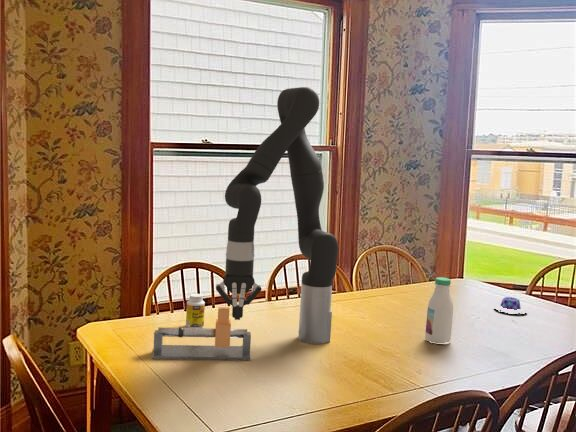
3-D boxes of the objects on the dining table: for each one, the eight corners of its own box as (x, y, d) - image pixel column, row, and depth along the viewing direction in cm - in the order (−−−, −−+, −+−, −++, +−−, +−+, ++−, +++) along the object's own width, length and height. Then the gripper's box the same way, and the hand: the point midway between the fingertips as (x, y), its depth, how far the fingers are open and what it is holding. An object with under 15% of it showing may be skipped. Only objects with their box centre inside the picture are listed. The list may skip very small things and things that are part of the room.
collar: (229, 340, 172) (231, 305, 171) (229, 347, 167) (231, 311, 165) (215, 339, 172) (216, 305, 171) (214, 347, 166) (216, 311, 165)
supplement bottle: (190, 330, 189) (191, 298, 187) (182, 325, 193) (184, 293, 192) (206, 328, 192) (208, 296, 190) (199, 323, 196) (200, 292, 195)
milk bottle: (452, 340, 193) (458, 278, 190) (447, 347, 186) (453, 282, 183) (427, 336, 196) (433, 274, 194) (422, 342, 189) (427, 279, 187)
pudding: (490, 313, 229) (492, 299, 228) (496, 306, 240) (497, 293, 239) (524, 318, 224) (526, 304, 223) (528, 311, 234) (530, 298, 234)
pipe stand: (248, 349, 175) (250, 323, 174) (250, 360, 166) (251, 334, 165) (155, 347, 172) (156, 322, 171) (152, 359, 163) (153, 332, 162)
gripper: (263, 255, 171) (260, 315, 173) (215, 253, 170) (212, 314, 172) (265, 260, 164) (262, 323, 166) (215, 258, 162) (212, 322, 164)
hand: (237, 318), depth 169 cm, fingers closed
